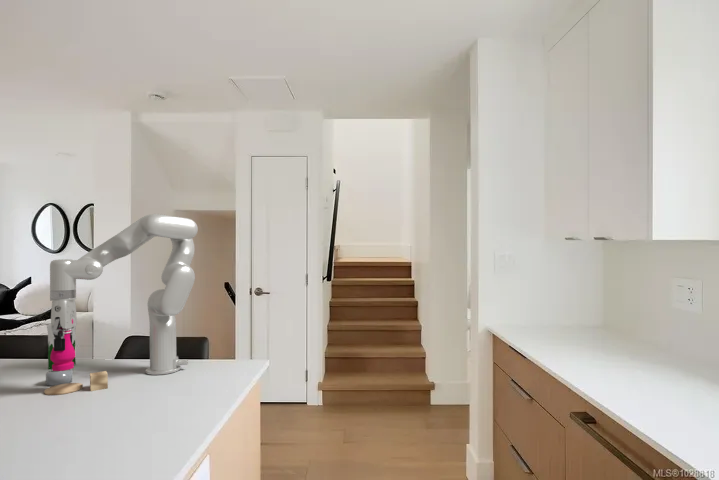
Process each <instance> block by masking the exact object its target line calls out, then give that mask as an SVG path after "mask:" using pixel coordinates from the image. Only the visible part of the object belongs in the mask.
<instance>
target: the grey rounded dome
mask: <svg viewBox="0 0 719 480" xmlns="http://www.w3.org/2000/svg"><path fill="white" fill-rule="evenodd" d="M73 371H74V370H73V369H69V370H64V371H53V370H49V371H46V373H45V386H49V387H52V386H55V385H60V384H66V383H73V373H74V372H73Z"/></svg>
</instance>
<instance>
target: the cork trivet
mask: <svg viewBox="0 0 719 480" xmlns="http://www.w3.org/2000/svg"><path fill="white" fill-rule="evenodd" d="M83 388H84V385H83V383H81V382H71V383H66V384H60V385H53V386H49V387H47V388H46V389H44V393H43V394H44V395H46V396H60V395H67V394H72V393H75V392H78V391H80V390H82V389H83Z"/></svg>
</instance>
